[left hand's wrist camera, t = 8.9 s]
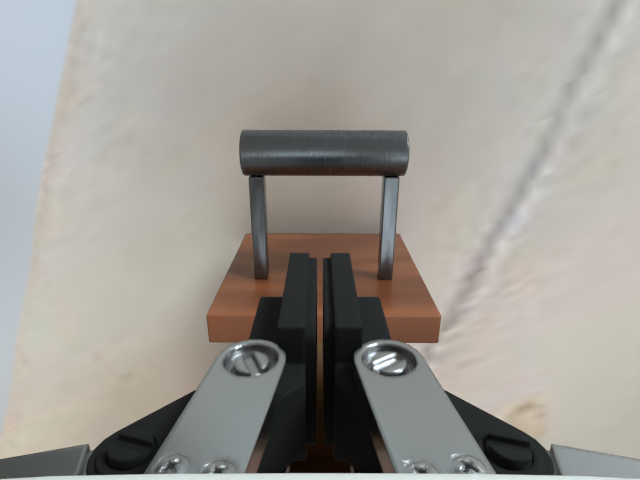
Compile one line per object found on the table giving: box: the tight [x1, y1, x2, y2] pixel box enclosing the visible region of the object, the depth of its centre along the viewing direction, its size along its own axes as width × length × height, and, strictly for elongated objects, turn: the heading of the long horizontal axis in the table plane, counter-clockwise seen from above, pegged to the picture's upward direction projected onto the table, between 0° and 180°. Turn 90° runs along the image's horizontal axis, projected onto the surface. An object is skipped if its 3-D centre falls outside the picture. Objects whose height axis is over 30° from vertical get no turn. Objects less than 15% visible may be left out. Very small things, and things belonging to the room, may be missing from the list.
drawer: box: [207, 130, 441, 473], centre depth 22 cm, size 22×9×9 cm, turn 0°
